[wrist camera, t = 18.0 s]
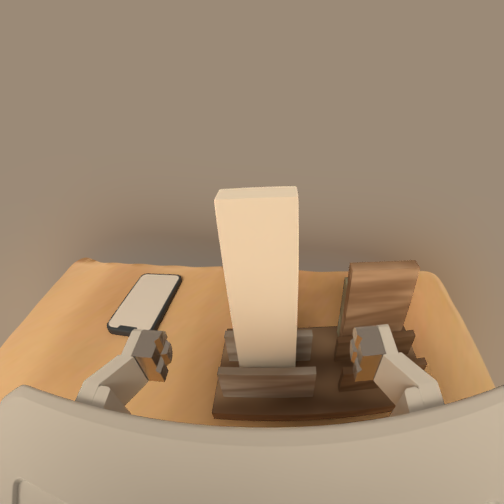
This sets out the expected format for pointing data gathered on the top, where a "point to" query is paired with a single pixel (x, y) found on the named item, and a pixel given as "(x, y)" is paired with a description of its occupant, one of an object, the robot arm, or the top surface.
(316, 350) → the rack
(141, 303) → the smartphone
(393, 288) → the block
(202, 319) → the top surface
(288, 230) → the cream rectangular board
